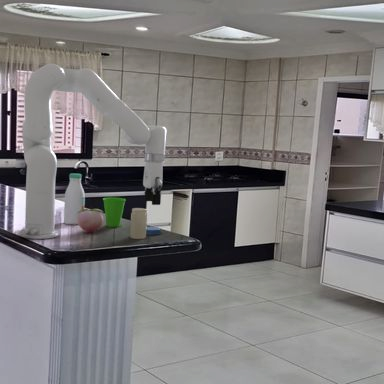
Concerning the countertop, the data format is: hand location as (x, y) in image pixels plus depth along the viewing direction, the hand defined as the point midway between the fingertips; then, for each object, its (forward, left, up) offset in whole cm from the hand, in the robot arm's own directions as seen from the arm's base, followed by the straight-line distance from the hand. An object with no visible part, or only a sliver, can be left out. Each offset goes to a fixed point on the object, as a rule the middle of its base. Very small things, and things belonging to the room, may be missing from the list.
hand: (152, 202), depth 217 cm
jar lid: (0, 0, -10) cm, 10 cm away
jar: (-10, +2, -12) cm, 16 cm away
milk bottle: (+7, +34, -12) cm, 37 cm away
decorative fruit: (-9, +21, -12) cm, 26 cm away
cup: (+8, +18, -12) cm, 23 cm away
